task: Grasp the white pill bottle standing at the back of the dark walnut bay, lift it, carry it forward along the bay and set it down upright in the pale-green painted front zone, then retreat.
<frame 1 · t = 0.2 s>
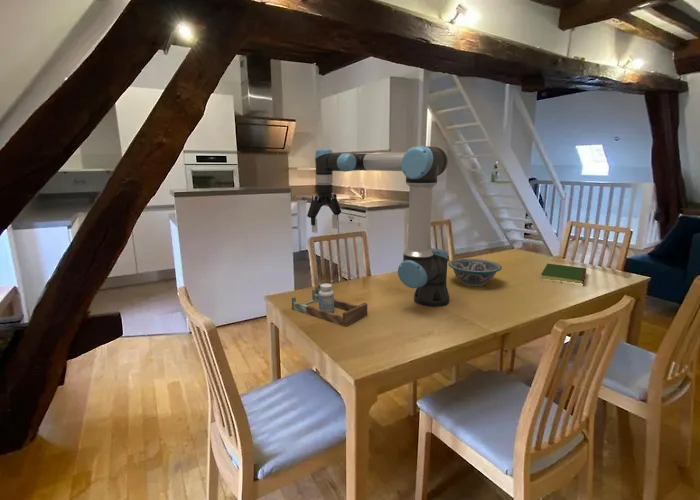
hand: (325, 230, 185), 28 cm above the table, fingers open, 13 cm apart
hardcover book: (563, 278, 206), on the table
bay: (328, 312, 160), on the table
pill bottle: (326, 312, 161), on the table
bowl: (473, 283, 196), on the table
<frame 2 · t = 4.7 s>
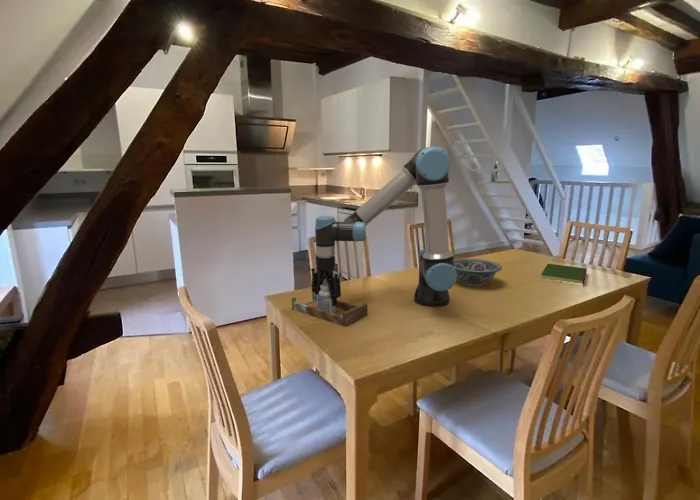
hand: (326, 311, 160), 0 cm above the table, fingers closed on pill bottle, 6 cm apart
pill bottle: (326, 312, 161), on the table, touching gripper
everything else where it was.
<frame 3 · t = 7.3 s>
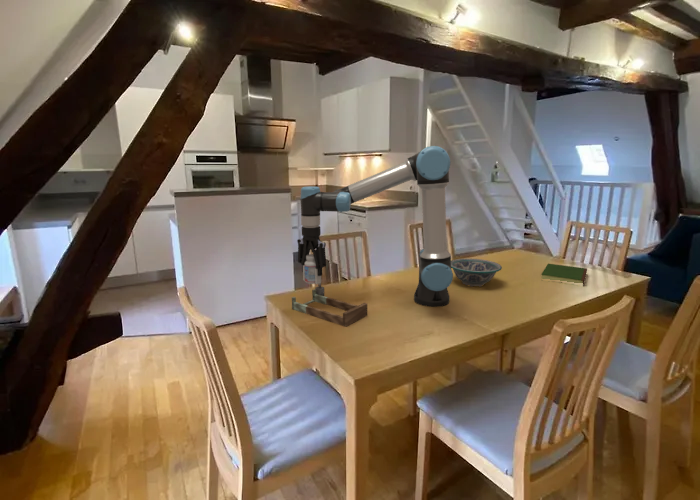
hand: (312, 281, 163), 11 cm above the table, fingers closed on pill bottle, 6 cm apart
pill bottle: (312, 282, 163), point 11 cm above the table, touching gripper
everything else where it was.
when the fingers open (1 cm above the table, at t = 9.6 s): pill bottle drops 1 cm, on the table.
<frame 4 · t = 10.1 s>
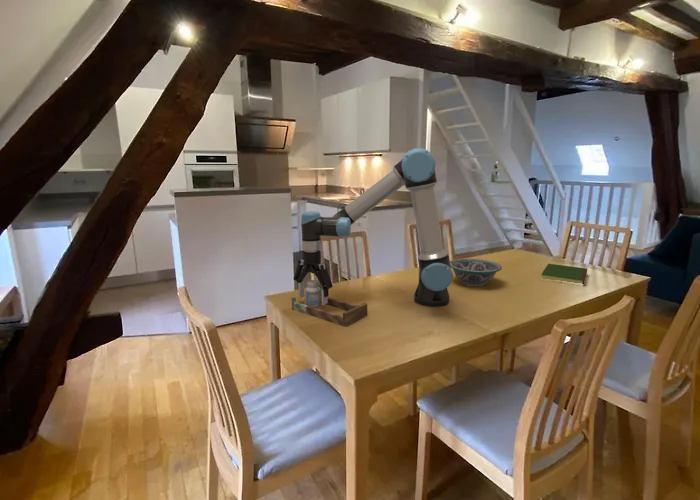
hand: (312, 300, 164), 3 cm above the table, fingers open, 12 cm apart
pill bottle: (313, 307, 165), on the table
everything else where it was.
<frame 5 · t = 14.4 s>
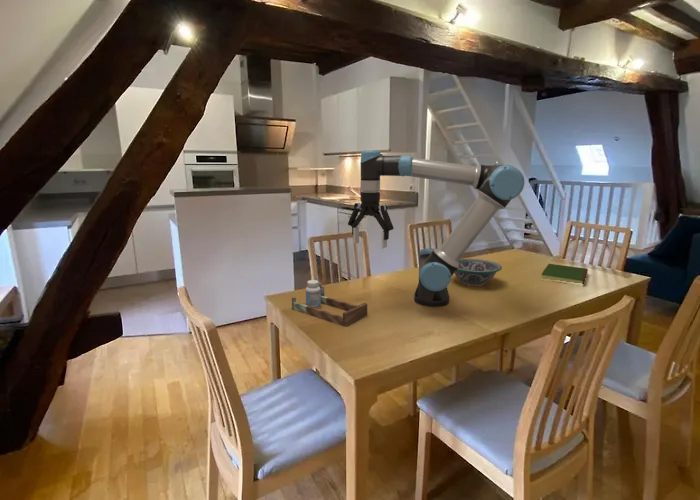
hand: (369, 245, 157), 27 cm above the table, fingers open, 13 cm apart
nothing on the table moved.
at the end: pill bottle inside the target area (0.2 cm from its centre), on the table; pill bottle tilted 0°; pill bottle moved 7.4 cm from its start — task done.
